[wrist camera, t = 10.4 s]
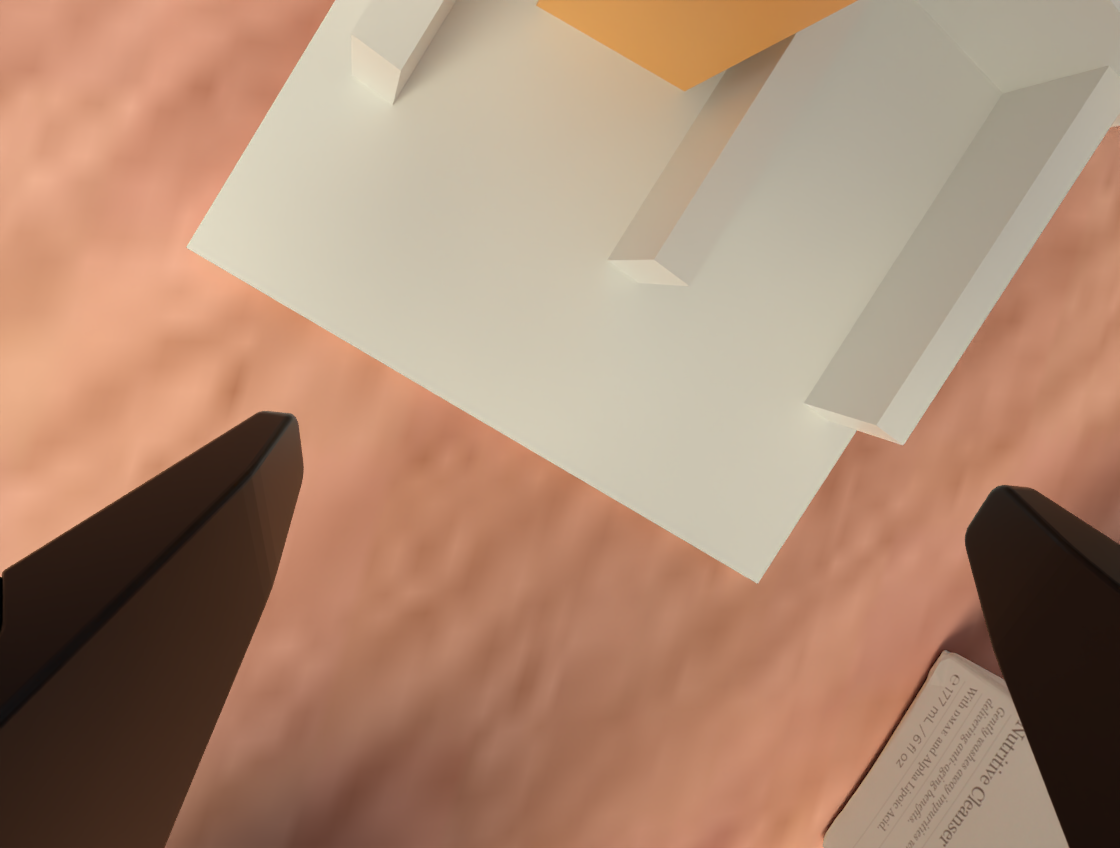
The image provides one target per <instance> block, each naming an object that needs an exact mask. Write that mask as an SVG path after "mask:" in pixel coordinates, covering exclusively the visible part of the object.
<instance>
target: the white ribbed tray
mask: <svg viewBox="0 0 1120 848" xmlns="http://www.w3.org/2000/svg"><path fill="white" fill-rule="evenodd" d="M537 2H538V0H335V2H334V3H333V5H332V7H331V8H330V10H329V12H328V13H327V15H326V17H325V18H324V20H323V22H322V23H321V25H320V27H319V28H318V30H317V32H316V33H315V35H314V36H313V38H312V40H311V41H310V43H309V45H308V46H307V48H306V50H305V51H304V53H303V55H302V56H301V58H300V60H299V61H298V63H297V65H296V66H295V68H294V70H293V71H292V73H291V75H290V76H289V78H288V80H287V81H286V83H285V85H284V86H283V88H282V90H281V91H280V93H279V95H278V96H277V98H276V100H275V101H274V103H273V104H272V106H271V108H270V109H269V111H268V113H267V114H266V116H265V118H264V119H263V121H262V123H261V124H260V126H259V128H258V129H257V131H256V133H255V134H254V136H253V138H252V139H251V141H250V143H249V144H248V146H247V148H246V149H245V151H244V153H243V154H242V156H241V158H240V159H239V161H238V163H237V164H236V166H235V168H234V169H233V171H232V172H231V174H230V176H229V177H228V179H227V181H226V182H225V184H224V186H223V187H222V189H221V191H220V192H219V194H218V196H217V197H216V199H215V201H214V202H213V204H212V206H211V207H210V209H209V211H208V212H207V214H206V216H205V217H204V219H203V221H202V222H201V224H200V226H199V227H198V229H197V231H196V232H195V234H194V235H193V237H192V239H191V240H190V242H189V244H188V245H187V247H186V248H188V249H189V250H191V251H193V252H195V253H196V254H198V255H200V256H201V257H203V258H205V259H206V260H208V261H210V262H212V263H213V264H215V265H217V266H218V267H220V268H222V269H223V270H225V271H227V272H229V273H230V274H232V275H234V276H235V277H237V278H239V279H240V280H242V281H244V282H246V283H247V284H249V285H251V286H252V287H254V288H256V289H257V290H259V291H261V292H263V293H264V294H266V295H268V296H269V297H271V298H273V299H274V300H276V301H278V302H280V303H281V304H283V305H285V306H286V307H288V308H290V309H291V310H293V311H295V312H297V313H298V314H300V315H302V316H303V317H305V318H307V319H308V320H310V321H312V322H314V323H315V324H317V325H319V326H320V327H322V328H324V329H325V330H327V331H329V332H331V333H332V334H334V335H336V336H337V337H339V338H341V339H342V340H344V341H346V342H348V343H349V344H351V345H353V346H354V347H356V348H358V349H359V350H361V351H363V352H365V353H366V354H368V355H370V356H371V357H373V358H375V359H376V360H378V361H380V362H382V363H383V364H385V365H387V366H388V367H390V368H392V369H393V370H395V371H397V372H399V373H400V374H402V375H404V376H405V377H407V378H409V379H410V380H412V381H414V382H416V383H417V384H419V385H421V386H422V387H424V388H426V389H427V390H429V391H431V392H433V393H434V394H436V395H438V396H439V397H441V398H443V399H444V400H446V401H448V402H450V403H451V404H453V405H455V406H456V407H458V408H460V409H461V410H463V411H465V412H467V413H468V414H470V415H472V416H473V417H475V418H477V419H478V420H480V421H482V422H484V423H485V424H487V425H489V426H490V427H492V428H494V429H495V430H497V431H499V432H501V433H502V434H504V435H506V436H507V437H509V438H511V439H512V440H514V441H516V442H518V443H519V444H521V445H523V446H524V447H526V448H528V449H529V450H531V451H533V452H535V453H536V454H538V455H540V456H541V457H543V458H545V459H546V460H548V461H550V462H552V463H553V464H555V465H557V466H558V467H560V468H562V469H563V470H565V471H567V472H569V473H570V474H572V475H574V476H575V477H577V478H579V479H580V480H582V481H584V482H586V483H587V484H589V485H591V486H592V487H594V488H596V489H597V490H599V491H601V492H603V493H604V494H606V495H608V496H609V497H611V498H613V499H614V500H616V501H618V502H620V503H621V504H623V505H625V506H626V507H628V508H630V509H631V510H633V511H635V512H637V513H638V514H640V515H642V516H643V517H645V518H647V519H648V520H650V521H652V522H654V523H655V524H657V525H659V526H660V527H662V528H664V529H665V530H667V531H669V532H671V533H672V534H674V535H676V536H677V537H679V538H681V539H682V540H684V541H686V542H688V543H689V544H691V545H693V546H694V547H696V548H698V549H699V550H701V551H703V552H705V553H706V554H708V555H710V556H711V557H713V558H715V559H716V560H718V561H720V562H722V563H723V564H725V565H727V566H728V567H730V568H732V569H733V570H735V571H737V572H738V573H740V574H742V575H744V576H745V577H747V578H749V579H750V580H752V581H754V582H755V583H757V584H758V583H759V581H760V579H761V578H762V576H763V575H764V573H765V572H766V570H767V569H768V567H769V566H770V564H771V562H772V561H773V559H774V558H775V556H776V555H777V553H778V552H779V550H780V549H781V547H782V545H783V544H784V542H785V541H786V539H787V538H788V536H789V535H790V533H791V532H792V530H793V528H794V527H795V525H796V524H797V522H798V521H799V519H800V518H801V516H802V515H803V513H804V511H805V510H806V508H807V507H808V505H809V504H810V502H811V501H812V499H813V498H814V496H815V494H816V493H817V491H818V490H819V488H820V487H821V485H822V484H823V482H824V481H825V479H826V477H827V476H828V474H829V473H830V471H831V470H832V468H833V467H834V465H835V464H836V462H837V460H838V459H839V457H840V456H841V454H842V453H843V451H844V450H845V448H846V447H847V445H848V443H849V442H850V440H851V439H852V437H853V436H854V434H855V433H856V431H857V430H858V431H861V432H864V433H867V434H870V435H873V436H876V437H879V438H882V439H885V440H888V441H891V442H894V443H897V444H900V445H904V444H905V442H906V441H907V439H908V438H909V436H910V434H911V433H912V431H913V430H914V428H915V427H916V425H917V424H918V422H919V421H920V419H921V418H922V416H923V414H924V413H925V411H926V410H927V408H928V407H929V405H930V404H931V402H932V401H933V399H934V398H935V396H936V394H937V393H938V391H939V390H940V388H941V387H942V385H943V384H944V382H945V381H946V379H947V378H948V376H949V374H950V373H951V371H952V370H953V368H954V367H955V365H956V364H957V362H958V361H959V359H960V358H961V356H962V354H963V353H964V351H965V350H966V348H967V347H968V345H969V344H970V342H971V341H972V339H973V338H974V336H975V334H976V333H977V331H978V330H979V328H980V327H981V325H982V324H983V322H984V321H985V319H986V318H987V316H988V314H989V313H990V311H991V310H992V308H993V307H994V305H995V304H996V302H997V301H998V299H999V298H1000V296H1001V294H1002V293H1003V291H1004V290H1005V288H1006V287H1007V285H1008V284H1009V282H1010V281H1011V279H1012V278H1013V276H1014V274H1015V273H1016V271H1017V270H1018V268H1019V267H1020V265H1021V264H1022V262H1023V261H1024V259H1025V258H1026V256H1027V254H1028V253H1029V251H1030V250H1031V248H1032V247H1033V245H1034V244H1035V242H1036V241H1037V239H1038V238H1039V236H1040V234H1041V233H1042V231H1043V230H1044V228H1045V227H1046V225H1047V224H1048V222H1049V221H1050V219H1051V218H1052V216H1053V214H1054V213H1055V211H1056V210H1057V208H1058V207H1059V205H1060V204H1061V202H1062V201H1063V199H1064V198H1065V196H1066V194H1067V193H1068V191H1069V190H1070V188H1071V187H1072V185H1073V184H1074V182H1075V181H1076V179H1077V178H1078V176H1079V174H1080V173H1081V171H1082V170H1083V168H1084V167H1085V165H1086V164H1087V162H1088V161H1089V159H1090V158H1091V156H1092V154H1093V153H1094V151H1095V150H1096V148H1097V147H1098V145H1099V144H1100V142H1101V141H1102V139H1103V138H1104V136H1105V134H1106V133H1107V131H1108V130H1109V128H1110V127H1115V126H1120V0H858V1H856V2H854V3H852V4H850V5H848V6H846V7H844V8H843V9H841V10H839V11H837V12H835V13H833V14H831V15H829V16H827V17H825V18H823V19H822V20H820V21H818V22H816V23H814V24H812V25H810V26H808V27H806V28H804V29H803V30H801V31H799V32H797V33H795V34H793V35H791V36H789V37H787V38H785V39H783V40H782V41H780V42H778V43H776V44H774V45H772V46H770V47H768V48H766V49H764V50H762V51H761V52H759V53H757V54H755V55H753V56H751V57H749V58H747V59H745V60H743V61H742V62H740V63H738V64H736V65H734V66H732V67H730V68H728V69H726V70H724V71H722V72H721V73H719V74H717V75H715V76H713V77H711V78H709V79H707V80H705V81H703V82H702V83H700V84H698V85H696V86H694V87H692V88H690V89H688V90H686V91H683V90H681V89H679V88H678V87H676V86H674V85H673V84H671V83H669V82H667V81H666V80H664V79H662V78H660V77H659V76H657V75H655V74H654V73H652V72H650V71H648V70H647V69H645V68H643V67H641V66H640V65H638V64H636V63H635V62H633V61H631V60H629V59H628V58H626V57H624V56H622V55H621V54H619V53H617V52H616V51H614V50H612V49H610V48H609V47H607V46H605V45H603V44H602V43H600V42H598V41H597V40H595V39H593V38H591V37H590V36H588V35H586V34H584V33H583V32H581V31H579V30H578V29H576V28H574V27H572V26H571V25H569V24H567V23H565V22H564V21H562V20H560V19H558V18H557V17H555V16H553V15H552V14H550V13H548V12H546V11H545V10H543V9H541V8H539V7H538V6H536V5H537Z"/></svg>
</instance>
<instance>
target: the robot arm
mask: <svg viewBox="0 0 1120 848" xmlns="http://www.w3.org/2000/svg"><path fill="white" fill-rule="evenodd" d="M303 468H304V466H303V457H302V449H301V441H300V433H299V425H298V421H297V419H296V417H295V416H294V415H292V414H290V413H281V412H271V411H261V412H258V413H256V414H255V415H253V416H251V417H250V418H248V419H247V420H245V421H243V422H242V423H240V424H239V425H237V426H235V427H234V428H232V429H230V430H229V431H227V432H226V433H224V434H222V435H221V436H219V437H218V438H216V439H214V440H213V441H211V442H210V443H208V444H206V445H205V446H203V447H202V448H200V449H198V450H197V451H195V452H194V453H192V454H190V455H189V456H187V457H186V458H184V459H182V460H181V461H179V462H177V463H176V464H174V465H173V466H171V467H169V468H168V469H166V470H165V471H163V472H161V473H160V474H158V475H157V476H155V477H153V478H152V479H150V480H149V481H147V482H145V483H144V484H142V485H141V486H139V487H137V488H136V489H134V490H132V491H131V492H129V493H128V494H126V495H124V496H123V497H121V498H120V499H118V500H116V501H115V502H113V503H112V504H110V505H108V506H107V507H105V508H104V509H102V510H100V511H99V512H97V513H96V514H94V515H92V516H91V517H89V518H87V519H86V520H84V521H83V522H81V523H79V524H78V525H76V526H75V527H73V528H71V529H70V530H68V531H67V532H65V533H63V534H62V535H60V536H59V537H57V538H55V539H54V540H52V541H51V542H49V543H47V544H46V545H44V546H43V547H41V548H39V549H38V550H36V551H34V552H33V553H31V554H30V555H28V556H26V557H25V558H23V559H22V560H20V561H18V562H17V563H15V564H14V565H12V566H10V567H9V568H7V569H6V570H4V571H3V572H2V578H1V577H0V848H164V847H165V845H166V842H167V840H168V837H169V835H170V833H171V830H172V828H173V826H174V823H175V821H176V818H177V816H178V814H179V811H180V809H181V806H182V804H183V802H184V799H185V797H186V794H187V792H188V790H189V787H190V785H191V782H192V780H193V778H194V775H195V773H196V770H197V768H198V766H199V763H200V761H201V758H202V756H203V754H204V751H205V749H206V746H207V744H208V742H209V739H210V737H211V735H212V732H213V730H214V727H215V725H216V723H217V720H218V718H219V715H220V713H221V711H222V708H223V706H224V703H225V701H226V699H227V696H228V694H229V691H230V689H231V687H232V684H233V682H234V679H235V677H236V675H237V672H238V670H239V667H240V665H241V663H242V660H243V658H244V655H245V653H246V651H247V648H248V646H249V644H250V641H251V639H252V636H253V634H254V632H255V629H256V627H257V624H258V622H259V620H260V617H261V615H262V612H263V610H264V608H265V605H266V603H267V600H268V597H269V595H270V592H271V590H272V587H273V583H274V580H275V577H276V574H277V570H278V567H279V563H280V560H281V556H282V552H283V549H284V545H285V542H286V538H287V534H288V531H289V527H290V524H291V520H292V516H293V513H294V509H295V506H296V502H297V498H298V495H299V491H300V488H301V484H302V479H303ZM965 546H966V551H967V554H968V558H969V562H970V566H971V569H972V573H973V577H974V581H975V584H976V588H977V592H978V596H979V600H980V603H981V607H982V611H983V615H984V618H985V622H986V626H987V630H988V633H989V637H990V640H991V643H992V647H993V650H994V653H995V656H996V659H997V661H998V664H999V667H1000V670H1001V672H1002V675H1003V677H1004V680H1005V683H1006V685H1007V688H1008V690H1009V693H1010V696H1011V698H1012V701H1013V703H1014V706H1015V709H1016V711H1017V714H1018V716H1019V719H1020V722H1021V724H1022V727H1023V729H1024V732H1025V735H1026V737H1027V740H1028V742H1029V745H1030V748H1031V750H1032V753H1033V755H1034V758H1035V761H1036V763H1037V766H1038V768H1039V771H1040V774H1041V776H1042V779H1043V781H1044V784H1045V787H1046V789H1047V792H1048V794H1049V797H1050V800H1051V802H1052V805H1053V807H1054V810H1055V813H1056V815H1057V818H1058V821H1059V823H1060V826H1061V828H1062V831H1063V834H1064V836H1065V839H1066V841H1067V844H1068V847H1069V848H1120V545H1119V544H1118V543H1116V542H1115V541H1113V540H1112V539H1110V538H1109V537H1107V536H1105V535H1104V534H1102V533H1101V532H1099V531H1098V530H1096V529H1095V528H1093V527H1092V526H1090V525H1089V524H1087V523H1085V522H1084V521H1082V520H1081V519H1079V518H1078V517H1076V516H1075V515H1073V514H1072V513H1070V512H1068V511H1067V510H1065V509H1064V508H1062V507H1061V506H1059V505H1058V504H1056V503H1055V502H1053V501H1052V500H1050V499H1048V498H1047V497H1045V496H1044V495H1042V494H1041V493H1039V492H1038V491H1036V490H1034V489H1031V488H1028V487H1019V486H1009V485H1002V486H998V487H996V488H995V489H993V490H992V491H991V492H990V494H989V495H988V497H987V498H986V500H985V501H984V503H983V505H982V506H981V508H980V509H979V511H978V512H977V514H976V515H975V517H974V518H973V520H972V522H971V523H970V525H969V526H968V528H967V531H966V535H965Z"/></svg>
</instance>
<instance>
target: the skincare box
mask: <svg viewBox="0 0 1120 848" xmlns="http://www.w3.org/2000/svg"><path fill="white" fill-rule="evenodd" d="M823 847H824V848H1069V847H1068V844H1067V841H1066V839H1065V836H1064V834H1063V831H1062V828H1061V826H1060V823H1059V821H1058V818H1057V815H1056V813H1055V810H1054V807H1053V805H1052V802H1051V800H1050V797H1049V794H1048V792H1047V789H1046V787H1045V784H1044V781H1043V779H1042V776H1041V774H1040V771H1039V768H1038V766H1037V763H1036V761H1035V758H1034V755H1033V753H1032V750H1031V748H1030V745H1029V742H1028V740H1027V737H1026V735H1025V732H1024V729H1023V727H1022V724H1021V722H1020V719H1019V716H1018V714H1017V711H1016V709H1015V706H1014V703H1013V701H1012V698H1011V696H1010V693H1009V690H1008V688H1007V685H1006V683H1005V680H1004V679H1002V678H1000V677H998V676H997V675H995V674H993V673H991V672H989V671H988V670H986V669H984V668H982V667H980V666H979V665H977V664H975V663H973V662H971V661H970V660H968V659H966V658H964V657H962V656H960V655H958V654H956V653H951V652H949V651H947V650H944V651H943V652H942V653H941V655H940V656H939V658H938V659H937V661H936V662H935V664H934V665H933V667H932V668H931V670H930V671H929V674H928V677H927V680H926V682H925V683H924V685H923V686H922V688H921V690H920V691H919V693H918V694H917V696H916V698H915V699H914V701H913V702H912V704H911V706H910V707H909V709H908V710H907V712H906V714H905V715H904V717H903V719H902V720H901V722H900V723H899V725H898V727H897V728H896V730H895V731H894V733H893V735H892V736H891V738H890V740H889V741H888V743H887V744H886V746H885V748H884V749H883V751H882V753H881V754H880V756H879V757H878V759H877V761H876V762H875V764H874V765H873V767H872V768H871V770H870V771H869V773H868V774H867V776H866V777H865V779H864V780H863V781H862V783H861V784H860V786H859V787H858V789H857V790H856V792H855V793H854V794H853V796H852V797H851V798H850V800H849V801H848V803H847V804H846V806H845V807H844V809H843V810H842V811H841V812H840V814H839V815H838V816H837V817H836V819H835V820H834V822H833V823H832V825H831V826H830V828H829V829H828V830H827V832H826V834H825V836H824V840H823Z"/></svg>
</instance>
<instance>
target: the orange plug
mask: <svg viewBox="0 0 1120 848" xmlns="http://www.w3.org/2000/svg"><path fill="white" fill-rule="evenodd" d="M856 1H858V0H538V2H537V5H536V6H538V7H539V8H541V9H543V10H545V11H546V12H548V13H550V14H552V15H553V16H555V17H557V18H558V19H560V20H562V21H564V22H565V23H567V24H569V25H571V26H572V27H574V28H576V29H578V30H579V31H581V32H583V33H584V34H586V35H588V36H590V37H591V38H593V39H595V40H597V41H598V42H600V43H602V44H603V45H605V46H607V47H609V48H610V49H612V50H614V51H616V52H617V53H619V54H621V55H622V56H624V57H626V58H628V59H629V60H631V61H633V62H635V63H636V64H638V65H640V66H641V67H643V68H645V69H647V70H648V71H650V72H652V73H654V74H655V75H657V76H659V77H660V78H662V79H664V80H666V81H667V82H669V83H671V84H673V85H674V86H676V87H678V88H679V89H681V90H683V91H686V90H688V89H690V88H692V87H694V86H696V85H698V84H700V83H702V82H703V81H705V80H707V79H709V78H711V77H713V76H715V75H717V74H719V73H721V72H722V71H724V70H726V69H728V68H730V67H732V66H734V65H736V64H738V63H740V62H742V61H743V60H745V59H747V58H749V57H751V56H753V55H755V54H757V53H759V52H761V51H762V50H764V49H766V48H768V47H770V46H772V45H774V44H776V43H778V42H780V41H782V40H783V39H785V38H787V37H789V36H791V35H793V34H795V33H797V32H799V31H801V30H803V29H804V28H806V27H808V26H810V25H812V24H814V23H816V22H818V21H820V20H822V19H823V18H825V17H827V16H829V15H831V14H833V13H835V12H837V11H839V10H841V9H843V8H844V7H846V6H848V5H850V4H852V3H854V2H856Z"/></svg>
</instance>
